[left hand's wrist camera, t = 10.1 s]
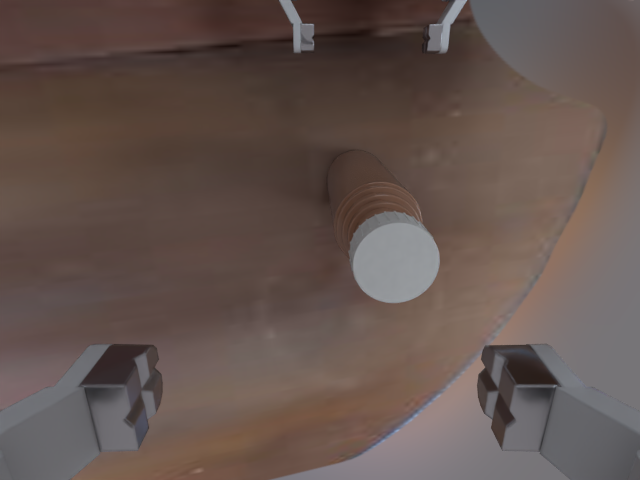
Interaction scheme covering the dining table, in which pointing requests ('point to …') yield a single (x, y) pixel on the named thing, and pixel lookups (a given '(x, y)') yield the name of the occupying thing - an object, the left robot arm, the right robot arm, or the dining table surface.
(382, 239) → the cap
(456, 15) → the right robot arm
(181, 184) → the dining table surface
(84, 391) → the left robot arm
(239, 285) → the dining table surface
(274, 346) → the dining table surface
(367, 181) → the bottle
